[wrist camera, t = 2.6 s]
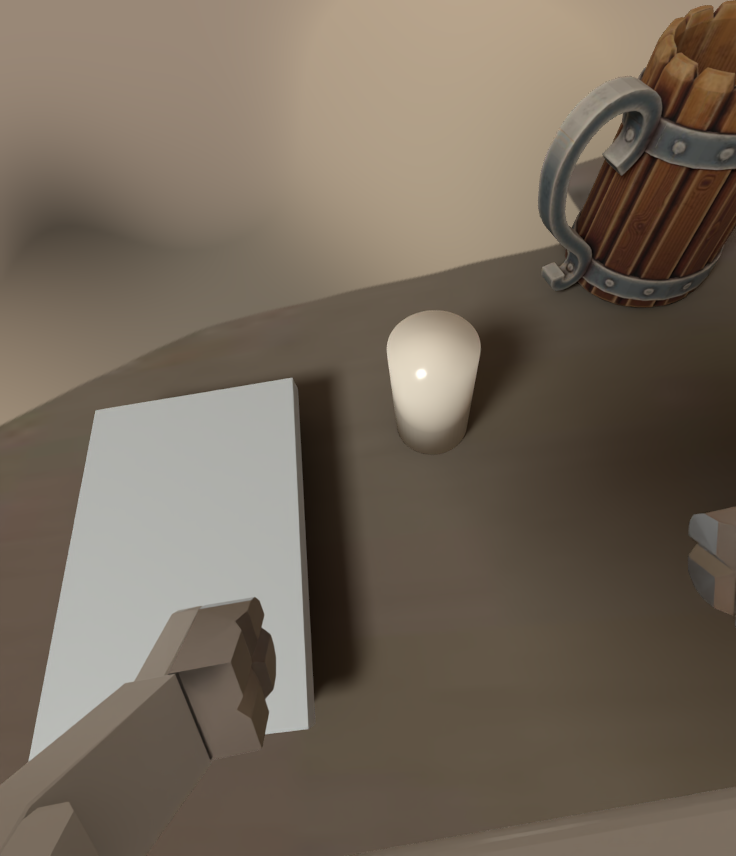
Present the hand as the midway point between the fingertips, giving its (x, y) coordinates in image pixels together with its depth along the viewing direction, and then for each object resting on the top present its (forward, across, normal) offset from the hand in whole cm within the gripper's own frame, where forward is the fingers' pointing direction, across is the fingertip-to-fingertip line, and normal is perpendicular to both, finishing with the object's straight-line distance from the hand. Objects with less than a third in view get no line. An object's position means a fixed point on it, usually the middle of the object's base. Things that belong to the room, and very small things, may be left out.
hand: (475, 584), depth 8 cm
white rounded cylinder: (+23, -3, +4) cm, 24 cm away
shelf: (+19, +14, +9) cm, 25 cm away
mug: (+30, -19, -3) cm, 36 cm away
